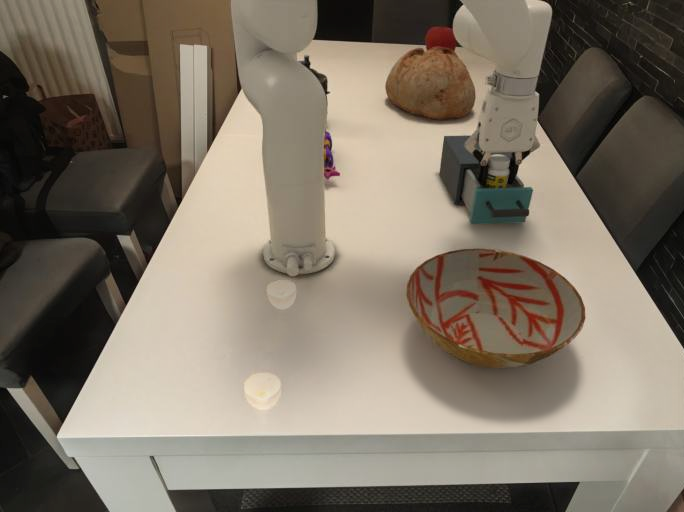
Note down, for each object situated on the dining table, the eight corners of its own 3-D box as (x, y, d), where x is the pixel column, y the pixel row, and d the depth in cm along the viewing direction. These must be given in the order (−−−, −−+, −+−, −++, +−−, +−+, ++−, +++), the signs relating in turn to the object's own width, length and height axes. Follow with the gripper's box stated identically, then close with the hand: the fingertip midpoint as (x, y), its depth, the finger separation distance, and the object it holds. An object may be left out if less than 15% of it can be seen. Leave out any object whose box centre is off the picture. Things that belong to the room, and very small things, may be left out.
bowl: (544, 289, 93) (556, 249, 87) (593, 399, 74) (612, 357, 69) (397, 287, 92) (400, 246, 86) (409, 399, 73) (414, 356, 68)
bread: (487, 118, 152) (497, 60, 142) (411, 127, 145) (416, 66, 135) (444, 88, 170) (450, 34, 160) (374, 95, 163) (376, 39, 153)
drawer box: (510, 202, 116) (519, 162, 110) (454, 204, 114) (460, 163, 108) (491, 172, 126) (498, 134, 120) (439, 174, 125) (444, 135, 119)
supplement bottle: (477, 202, 108) (485, 161, 103) (481, 191, 112) (488, 151, 106) (502, 206, 108) (510, 165, 102) (504, 195, 111) (513, 155, 105)
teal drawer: (533, 235, 104) (542, 202, 100) (477, 237, 103) (484, 204, 98) (504, 191, 117) (511, 160, 113) (454, 193, 116) (459, 161, 111)
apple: (459, 62, 193) (464, 24, 185) (446, 68, 186) (450, 30, 178) (432, 56, 197) (435, 19, 189) (417, 62, 190) (421, 24, 182)
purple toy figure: (336, 142, 136) (335, 90, 127) (340, 188, 117) (340, 131, 109) (276, 142, 134) (272, 90, 126) (271, 189, 116) (266, 131, 108)
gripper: (473, 90, 91) (457, 192, 103) (568, 90, 93) (542, 189, 106) (461, 76, 97) (448, 174, 109) (552, 76, 99) (529, 172, 111)
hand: (495, 181), depth 107 cm, fingers closed on supplement bottle, 4 cm apart
